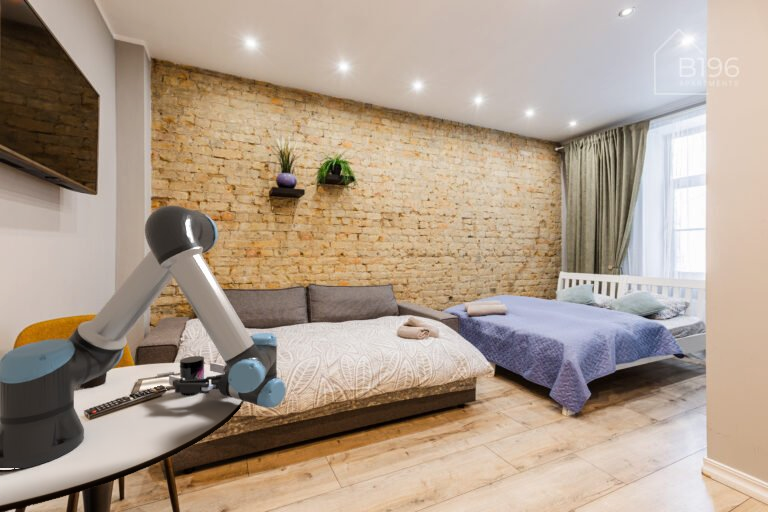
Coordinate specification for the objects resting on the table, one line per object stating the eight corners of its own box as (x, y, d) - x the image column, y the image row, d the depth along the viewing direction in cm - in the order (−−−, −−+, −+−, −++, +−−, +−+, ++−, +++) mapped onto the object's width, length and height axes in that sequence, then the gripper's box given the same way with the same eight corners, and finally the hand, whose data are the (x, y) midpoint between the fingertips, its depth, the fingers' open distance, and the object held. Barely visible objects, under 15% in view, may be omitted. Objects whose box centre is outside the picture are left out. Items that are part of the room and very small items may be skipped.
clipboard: (192, 386, 113) (192, 381, 113) (132, 396, 105) (132, 391, 105) (191, 373, 125) (191, 369, 125) (138, 381, 117) (138, 376, 117)
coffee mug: (116, 380, 118) (116, 351, 118) (92, 390, 110) (92, 359, 109) (85, 378, 119) (85, 350, 119) (60, 388, 111) (59, 357, 111)
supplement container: (184, 398, 104) (184, 364, 104) (176, 392, 108) (176, 359, 108) (207, 391, 109) (207, 358, 109) (199, 386, 113) (199, 354, 113)
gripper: (198, 415, 88) (150, 399, 98) (270, 382, 111) (225, 372, 120) (198, 386, 88) (150, 373, 98) (270, 359, 111) (225, 351, 120)
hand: (191, 372), depth 109 cm, fingers open, 13 cm apart
